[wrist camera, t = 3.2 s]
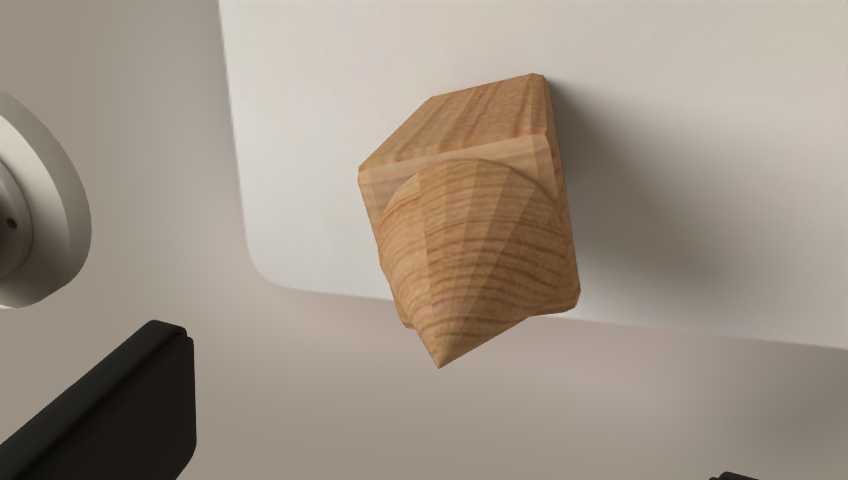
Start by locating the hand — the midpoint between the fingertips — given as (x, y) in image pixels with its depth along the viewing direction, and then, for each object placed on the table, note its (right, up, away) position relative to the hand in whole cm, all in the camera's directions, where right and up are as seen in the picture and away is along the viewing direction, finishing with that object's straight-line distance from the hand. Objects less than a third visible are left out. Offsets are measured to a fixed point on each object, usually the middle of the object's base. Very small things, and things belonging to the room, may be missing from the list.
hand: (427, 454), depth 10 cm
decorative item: (+4, +9, +20) cm, 23 cm away
